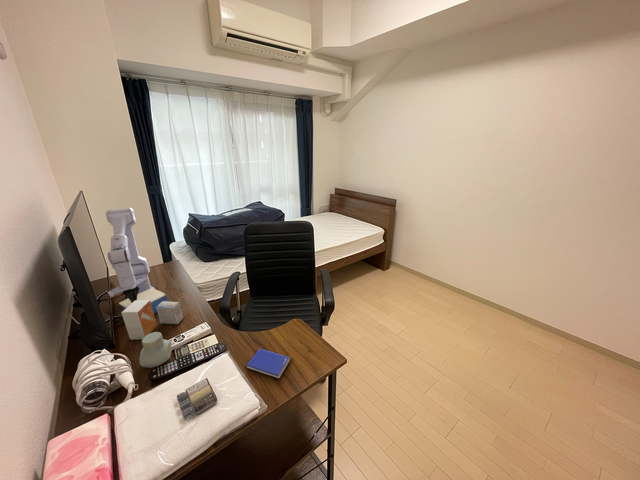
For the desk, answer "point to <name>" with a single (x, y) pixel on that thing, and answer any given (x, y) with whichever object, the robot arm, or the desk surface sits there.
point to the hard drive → (268, 363)
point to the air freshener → (154, 350)
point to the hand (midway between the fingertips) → (134, 302)
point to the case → (155, 303)
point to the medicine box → (169, 312)
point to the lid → (145, 296)
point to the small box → (139, 319)
